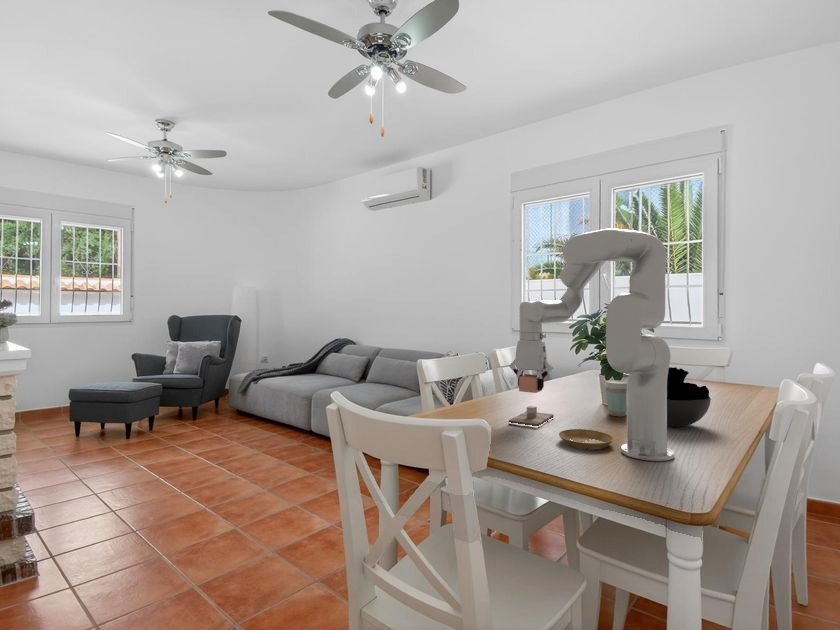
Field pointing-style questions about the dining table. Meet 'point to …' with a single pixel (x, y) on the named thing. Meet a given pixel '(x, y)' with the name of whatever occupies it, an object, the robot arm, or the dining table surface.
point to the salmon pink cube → (528, 383)
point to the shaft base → (533, 420)
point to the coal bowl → (685, 399)
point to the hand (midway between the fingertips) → (530, 388)
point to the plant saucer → (585, 438)
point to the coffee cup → (616, 397)
